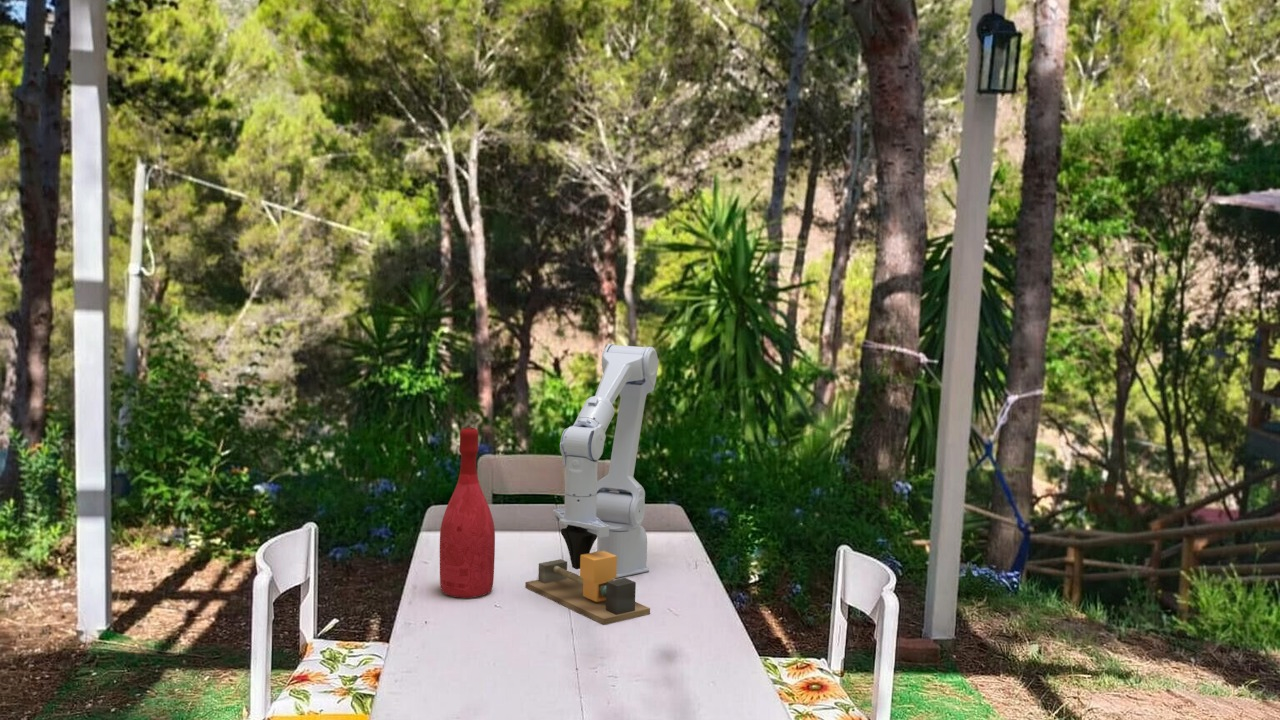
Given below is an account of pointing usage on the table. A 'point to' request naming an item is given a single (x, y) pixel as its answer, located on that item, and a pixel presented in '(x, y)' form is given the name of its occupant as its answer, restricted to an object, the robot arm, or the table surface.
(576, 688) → the table surface
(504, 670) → the table surface
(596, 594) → the orange notched block
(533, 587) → the cord rig
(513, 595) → the table surface
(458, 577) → the wine bottle
